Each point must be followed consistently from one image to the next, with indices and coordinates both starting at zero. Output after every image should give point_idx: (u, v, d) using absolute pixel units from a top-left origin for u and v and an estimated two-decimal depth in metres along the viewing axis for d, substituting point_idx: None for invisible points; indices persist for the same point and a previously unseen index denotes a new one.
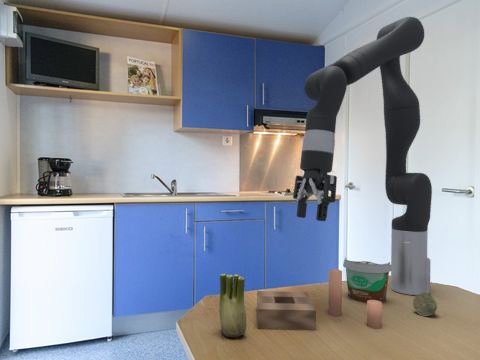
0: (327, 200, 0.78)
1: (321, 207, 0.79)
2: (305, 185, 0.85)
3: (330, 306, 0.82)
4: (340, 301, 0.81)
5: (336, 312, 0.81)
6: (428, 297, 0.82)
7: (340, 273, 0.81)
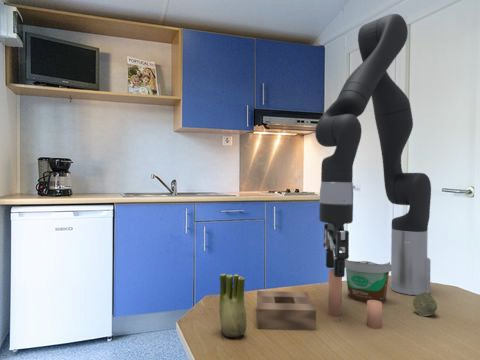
0: (339, 257, 0.75)
1: (336, 263, 0.77)
2: (327, 236, 0.84)
3: (330, 306, 0.82)
4: (340, 301, 0.81)
5: (336, 312, 0.81)
6: (428, 297, 0.82)
7: None
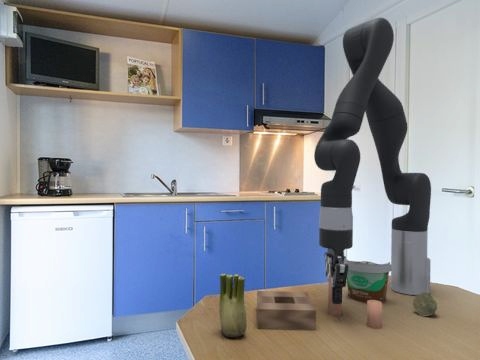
0: (336, 286, 0.78)
1: (334, 291, 0.80)
2: (328, 261, 0.83)
3: (330, 306, 0.82)
4: None
5: (336, 312, 0.81)
6: (428, 297, 0.82)
7: None
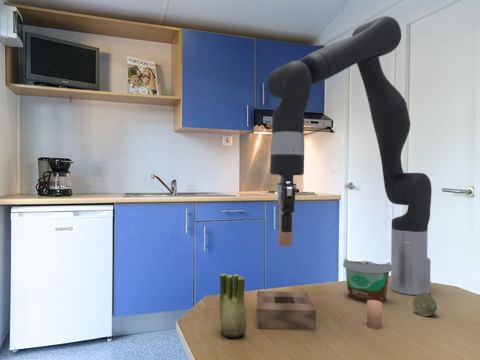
0: (284, 211, 0.75)
1: (283, 218, 0.77)
2: None
3: (280, 235, 0.79)
4: None
5: (286, 241, 0.78)
6: (428, 297, 0.82)
7: None
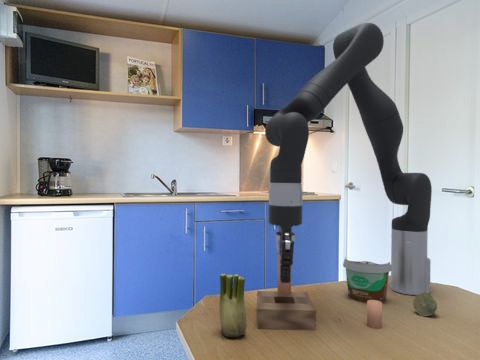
0: (283, 263, 0.75)
1: (282, 269, 0.77)
2: None
3: (279, 285, 0.79)
4: None
5: (285, 291, 0.78)
6: (428, 297, 0.82)
7: None
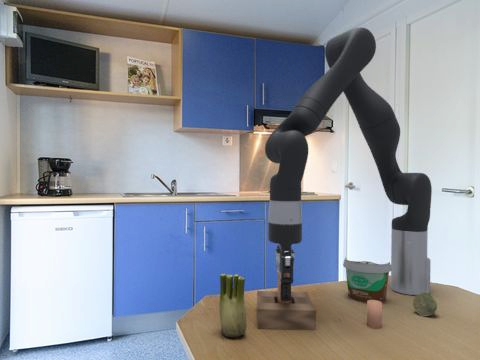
0: (283, 282, 0.74)
1: (282, 287, 0.76)
2: None
3: None
4: None
5: None
6: (428, 296, 0.82)
7: (288, 275, 0.79)
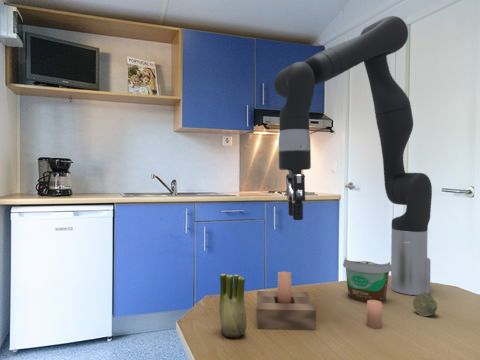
0: (296, 200, 0.78)
1: (295, 206, 0.80)
2: (288, 184, 0.86)
3: None
4: None
5: None
6: (428, 297, 0.82)
7: (289, 275, 0.79)
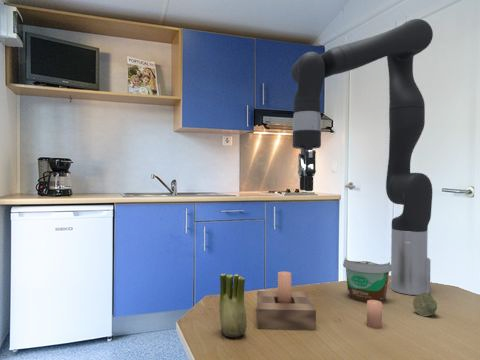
0: (307, 172, 0.89)
1: (306, 179, 0.91)
2: (300, 161, 0.97)
3: None
4: None
5: None
6: (428, 297, 0.82)
7: (289, 275, 0.79)
